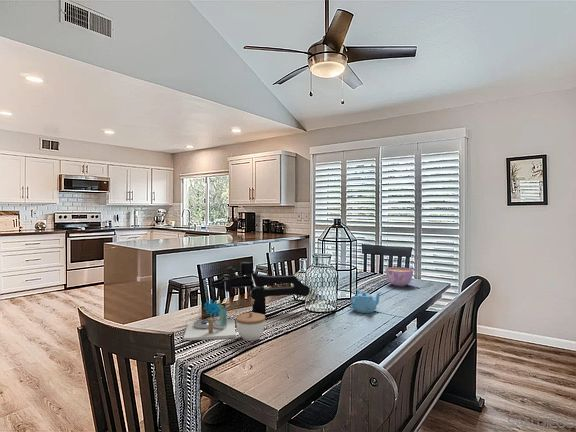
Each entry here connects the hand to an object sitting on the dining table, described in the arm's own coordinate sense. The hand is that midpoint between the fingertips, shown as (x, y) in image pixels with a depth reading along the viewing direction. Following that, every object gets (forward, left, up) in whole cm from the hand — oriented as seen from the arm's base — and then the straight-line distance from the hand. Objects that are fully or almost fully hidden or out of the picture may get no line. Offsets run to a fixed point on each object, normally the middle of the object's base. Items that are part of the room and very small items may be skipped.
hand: (211, 283), depth 189 cm
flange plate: (0, +22, -15) cm, 27 cm away
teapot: (-83, +6, -17) cm, 85 cm away
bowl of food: (-131, -51, -17) cm, 142 cm away
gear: (-1, -1, -17) cm, 17 cm away
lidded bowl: (-18, +37, -17) cm, 44 cm away
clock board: (-1, +25, -17) cm, 30 cm away
